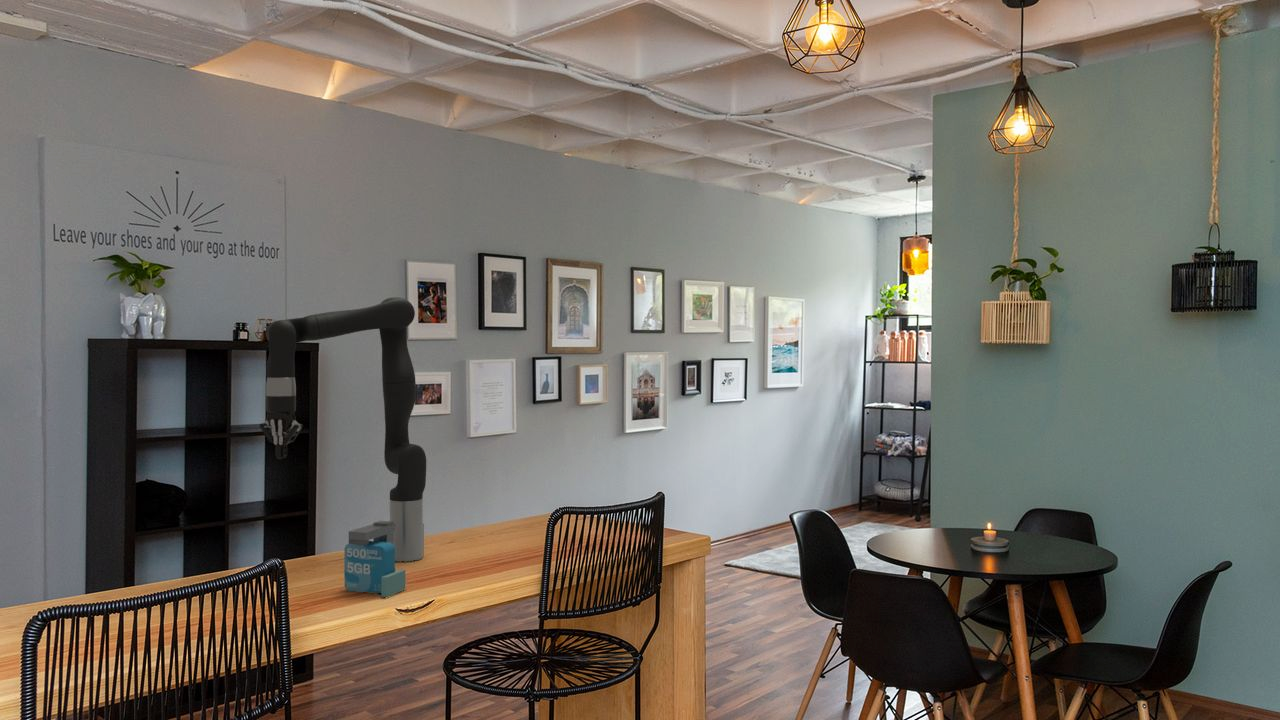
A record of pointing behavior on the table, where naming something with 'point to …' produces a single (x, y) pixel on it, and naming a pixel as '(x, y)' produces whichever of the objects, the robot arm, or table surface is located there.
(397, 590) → the end catch
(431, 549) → the table surface
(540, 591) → the table surface
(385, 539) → the lug bracket
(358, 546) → the data package
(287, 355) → the robot arm
